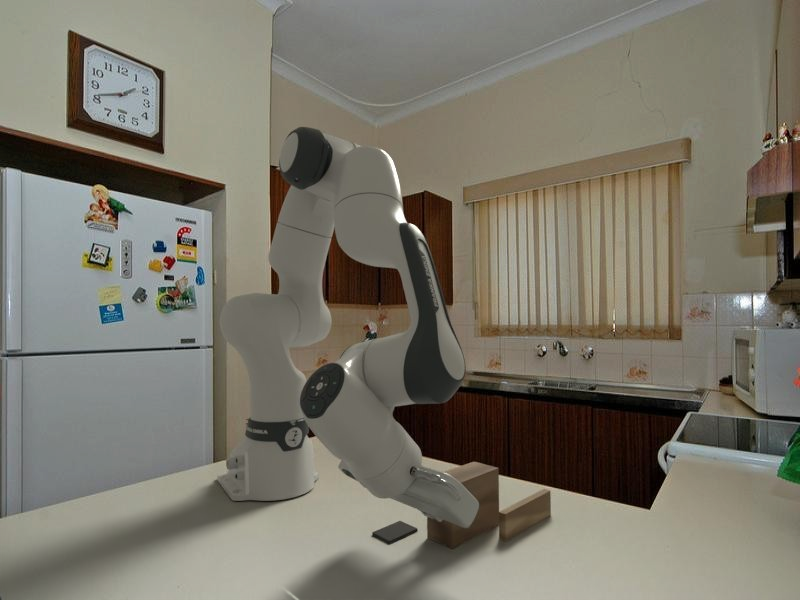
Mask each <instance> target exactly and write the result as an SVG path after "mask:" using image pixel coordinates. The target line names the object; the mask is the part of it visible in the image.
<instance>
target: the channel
mask: <svg viewBox="0 0 800 600" xmlns="http://www.w3.org/2000/svg"><path fill="white" fill-rule="evenodd" d="M551 504H552V502H551V490H550V489H546V488H543V489H541V490H539V491H537V492H534V493H533V494H530V495H529V496H527V497H525V498H523V499H521V500H519V501H517V502H515V503H513V504H511V505H510V506H508V507H506V508H504V509H502V510H499V524H498V540H501V541H504V542H507V541H509V540H510V539H512V538H514V537H516V536H517V535H519V534H520V533H522V532H524V531H526V530H527V529H529V528H531V527H532V526H534V525H535V524H537V523H539V522H541V521H542V520H544V519H545V518H547V517H549V516H550V515H552V508H551V507H552V505H551Z"/></svg>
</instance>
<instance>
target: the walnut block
mask: <svg viewBox="0 0 800 600" xmlns="http://www.w3.org/2000/svg"><path fill="white" fill-rule="evenodd" d="M499 470H500V469H499V467H497V466H493V465H488V464H484V463H481V462H477V461H472V462H469V463H465V464H463V465H459V466H457V467H455V468H451V469H448V470H445V471H444V472H445V473H447V474H449V475H451V476H452V477H454V478H455V479H457V480H458V481H459V482H460V483H461V484H462V485H463V486H464V487H465V488H466V489H467V490H468V491H469V492H470V493H471V494H472V495H473V496H474V497H475V499H476V500H477V501H478V503H479V508H478V511H477V514H476V516H475V518H474V520H473V522H472V524H471V525H470V526H469V527H468V528H463V527H460V526H458V525H455V524H453V523H450V522H448V521H445V520H442V521H441V522H438V521H436V520H434V519H431V518H429V517H426V518H427V519H426V524H427V525H426V533H427V534H426V536H427V538H428V539H430V540H432V541H434V542H436V543H439V544H440V545H442V546H445V547H447V548H449V549H452V550H453V549H455V548H458V547H459V546H460V545H463V544H465V543H466V542H468V541H471V540H472V539H474V538H476V537H477V536H480V535H481V534H483V533H486V532H487V531H489V530H491V529H493V528H495V527H496V526H499V511H500V481H499V476H500V474H499V472H500V471H499Z"/></svg>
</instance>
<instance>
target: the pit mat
mask: <svg viewBox="0 0 800 600" xmlns="http://www.w3.org/2000/svg"><path fill="white" fill-rule="evenodd" d="M418 529H419V528H418V527H415V526H413V525H410V524H409V523H407V522H404V521H402V520H398V521H395V522H393V523H391V524H389V525H387V526H384V527H382V528H380V529H377V530H374V531H372V532H371V533H372V536H373V537H375V538H377V539H380V540H382V541H384V542H385V543H388V544H389V545H390V544H393V543H394V542H397V541H399V540H401V539H403V538H406V537H408V536H410V535H412V534H414V533H416V532H418Z"/></svg>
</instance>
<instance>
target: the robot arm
mask: <svg viewBox="0 0 800 600" xmlns="http://www.w3.org/2000/svg"><path fill="white" fill-rule="evenodd" d="M278 166H279V167H278V168H279V172H280V173H281V176H282V179H283V181H284V182H286V183H288V184H289V185H290V187H289V188H288V190H287V193H286V195H285V197H284V201H283V204H282V205H281V209H280V212H279V214H278V217H277V218H278V219H277V221H276V222H277V223H276V226H275V230H274V233H273V237H272V240H271V244H270V248H269V253H268V255H267V256H268V264H269V265H270V267H271V269H273V270H274V272H276V274H277V275H278V280H279V282H278V285H279V287H278V288H279V289H278V293H277V294H276V293H275V294H274V293H262V292H261V293H260V292H259V293H258V292H253V293H247V294H241V295H237V296H234V297H231V298H230V299H228V300H227V302H226V303H225V304H224V306H223V308H222V310H221V313H220V317H219V328H220V332H221V334H222V336H223V338H224V339H225V341H226V342H227V343H228V344H229V345H230V346H232V347H233V349H235V350H236V351H237V352H238V354H239V355H240V357H241V359H242V361H243V363H244V365H245V369H246V370H247V375H248V381H249V391H250V393H249V394H250V401H249V402H250V403H249V404H250V407H249V408H250V410H249V411H250V417H249V418H246V419H245V420H246V421H247V422H246V423H245V426H246V427H245V432H244V433H245V434H244V435H245V437H244V438H243V439H242V440H241V441H240V442H239V443H238V444H236V446H235V447H234V448H233V449H231V451H230V452H229V453H230V454H229V457H227V458H226V460H225V463H226V464H225V466H226V469H227V470H225V471H223V472H221V473H219V474H217V477H216V481H217V482H218V484H220V485H221V487H222V489H223V490H224V491H225V492H226V494H227V495H228V497H229V498H230V499H231V500H232V501H235V502H238V501H239V502H240V501H259V502H260V501H264V502H267V501H268V502H269V501H280V500H281V501H283V500H287V499H292V498H293V499H294V498H296V497H299V496H301V495H304V494H306V493H307V494H308V492H310V491H311V490H312V489H313V488H314V487H315V482H316V481H318V479H319V472H317V471H315V462H314V461H315V460H314V448H313V441H312V439H311V438H309V436H308V435H309V433H310V432H309V431H312V433H313V434H314V436H315V437H316V438H317V439H318V441H319V442H320V443H321V444H322V446H324V447H325V448H326V449H327V450H328V451H329V452H330V453H331V454H332V456H334V457H335V458H336V459H338V460H340V462H339V464H338V467H337V468H338V469H339V470H340V471H341V473H342V474H344V475H345V476H347V477H348V478H351V479H353V480H355V481H356V482H358V483H359V484H360V485H361V486H362V487H363V488H365V489H366V490H367V491H368V492H369V493H370V494H371V495H373V496H374V497H376V498H378V499H391V500H394V501H397V502H398V503H400V504H403V505H406V506H408V507H411V508H413V509H416V510H417V511H419V512H421V513H422V515H423V516H424V517H426V518H427V517H429V518H431V519H434V520H436V521H438V522H441V521H442V520H445V521H448V522H450V523H453V524H455V525H458V526H460V527H463V528H468V527H469V526H470V525H471V524H472V522H473V520H474V518H475V516H476V514H477V511H478V508H479V503H478V501H477V500H476V499H475V497H474V496H473V495H472V494H471V493H470V492H469V491H468V490H467V489H466V488H465V487H464V486H463V485H462V484H461V483H460V482H459V481H458V480H457V479H455V478H454V477H452V476H451V475H449V474H447V473H445V471H442V470H440V469H439V470H438V469H435V468H432V467H428V466H425V465H422V463H423V454H422V451H421V448H420V446H419V445H418V444H417V443H416V442H415V441H414V439H413V438H412V437H411V435H409V433H408V432H407V431H406V429H405V428H404V427H403V426H402V425H401V424H400V423H399V422H398V421H396V419H395V418H394V416H393V415H394V413H393V412H394V410H395V407H402V406H408V405H415V404H417V405H427V404H428V405H429V404H430V405H431V404H432V405H433V404H445V403H447V402H448V401H450V399H452V397H454V395H455V393H456V392H457V391H458V390H459V388H460V387H461V385H462V383H463V382H464V378H465V376H466V374H467V373H466V372H467V371H466V369H467V367H466V360H465V356H464V353H463V350H462V346H461V344H460V342H459V340H458V337H457V335H456V332H455V330H454V327H453V324H452V322H451V320H450V316H449V312H448V308H447V304H446V302H445V298H444V295H443V291H442V287H441V283H440V279H439V277H438V273H437V270H436V265H435V263H434V260H433V256H432V253H431V250H430V247H429V245H428V242H427V240H426V238H425V236H424V234H423V233H422V231H421V230H420V229H419V228H418V226H416V225H415V224H412V223H410V222H408V221H407V219H406V217H405V213H404V204H403V195H402V191H401V190H402V189H401V184H400V180H399V176H398V172H397V169H396V165H395V163H394V161H393V159H392V157H391V156H390V155H389V154H388V153H387V152H386V151H385V150H383V149H381V148H380V147H376V146H372V145H359V144H358V143H355V142H353V141H350V140H345V139H343V138H340V137H337V136H335V135H332V134H328V133H324V132H322V131H321V130H320V129H319V128H318V129H317V128H313V127H310V126H309V127H308V126H299V127H297V128H295V129H293V130H292V131H290V132H289V134H288V135H287V136H286V139H285V140H284V142H283V144H282V146H281V149H280V153H279V162H278ZM334 233H335V238H336V240H337V244H338V246H339V247H340V248H341V250H342V251H343V252H344V253H345V254H346V255H347V256H348V257H349V258H351V259H353V260H354V261H356V262H358V263H361V264H364V265H366V266H371V267H377V268H385V269H386V268H389V269H396V270H397V271H398V272H399V275H400V278H401V282H402V288H403V291H404V297H405V300H406V303H407V305H406V306H407V307H408V312H409V317H410V325H409V327H408V328H407V329H406V330H405V331H404V332H399V333H396V334H392V335H388V336H384V337H378V338H373V339H368V340H364V341H361V342H358V343H355V344H352V345H350V346H348V347H347V348H345V350H344V351H343V352H342V354H341V355H340V357H339V359H338V360H336V361H334V362H328V363H326V364H324V365H321V366H320V367H318V369H316V370H315V371H314V372H313V373H312V374H311V375H310V376H309V378H308V379H307V377H306V375H305V374H304V373H303V372H302V371H301V370H299V369H298V368H297V367H296V366H295V364H294V362H293V360H292V357H291V353H290V352H291V351H290V348H303V347H308V346H311V345H314V344H317V343H319V342H323V340H325V339H326V337H327V336H328V335H329V334H330V332H331V328H332V323H333V321H332V315H331V311H330V309H329V307H328V306H327V305H326V301H325V299H324V295H323V294H324V293H323V275H324V269H325V265H326V262H327V256H328V254H329V250H330V245H331V242H332V237H333V234H334Z"/></svg>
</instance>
